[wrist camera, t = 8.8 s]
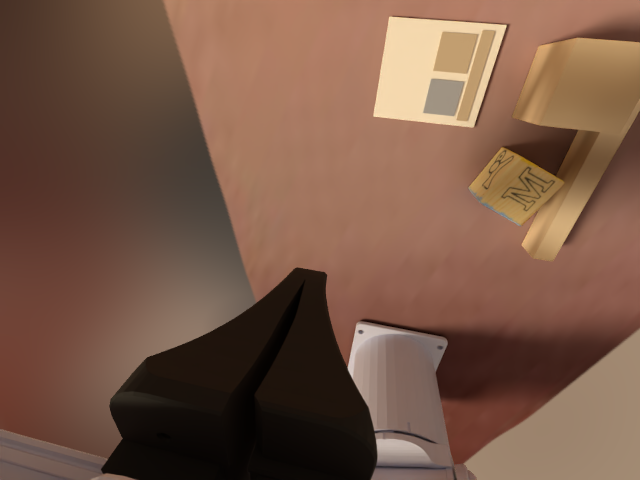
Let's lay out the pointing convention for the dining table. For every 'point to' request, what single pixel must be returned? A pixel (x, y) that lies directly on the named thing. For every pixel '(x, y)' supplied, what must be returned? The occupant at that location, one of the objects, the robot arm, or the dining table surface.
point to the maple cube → (582, 85)
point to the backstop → (573, 189)
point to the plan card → (436, 70)
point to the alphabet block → (514, 186)
